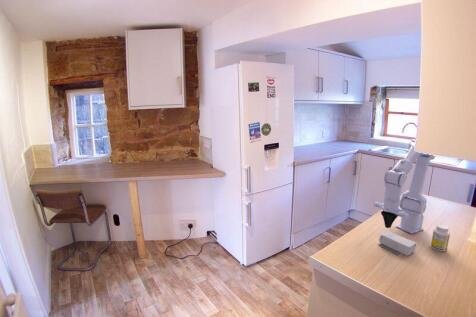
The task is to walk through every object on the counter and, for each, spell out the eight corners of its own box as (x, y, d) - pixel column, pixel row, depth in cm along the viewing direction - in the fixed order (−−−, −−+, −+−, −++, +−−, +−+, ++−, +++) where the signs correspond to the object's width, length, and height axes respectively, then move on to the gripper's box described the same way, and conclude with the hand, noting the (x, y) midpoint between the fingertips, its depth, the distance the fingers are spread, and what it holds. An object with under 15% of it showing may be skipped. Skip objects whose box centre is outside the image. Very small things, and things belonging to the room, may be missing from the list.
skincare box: (378, 242, 118) (407, 257, 108) (380, 233, 117) (409, 247, 107) (386, 238, 121) (414, 252, 112) (387, 229, 120) (416, 242, 110)
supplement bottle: (440, 244, 117) (444, 223, 114) (449, 251, 112) (454, 229, 109) (427, 244, 117) (431, 223, 114) (436, 251, 112) (441, 230, 109)
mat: (392, 240, 121) (392, 239, 121) (410, 249, 113) (410, 249, 113) (378, 244, 117) (378, 244, 117) (396, 255, 109) (396, 254, 109)
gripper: (370, 194, 118) (367, 222, 121) (402, 206, 105) (397, 237, 108) (381, 191, 121) (378, 218, 124) (413, 203, 108) (408, 233, 111)
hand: (387, 227), depth 116 cm, fingers closed
